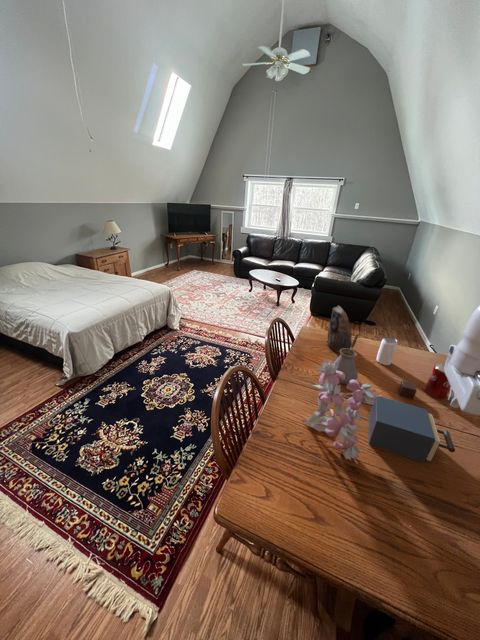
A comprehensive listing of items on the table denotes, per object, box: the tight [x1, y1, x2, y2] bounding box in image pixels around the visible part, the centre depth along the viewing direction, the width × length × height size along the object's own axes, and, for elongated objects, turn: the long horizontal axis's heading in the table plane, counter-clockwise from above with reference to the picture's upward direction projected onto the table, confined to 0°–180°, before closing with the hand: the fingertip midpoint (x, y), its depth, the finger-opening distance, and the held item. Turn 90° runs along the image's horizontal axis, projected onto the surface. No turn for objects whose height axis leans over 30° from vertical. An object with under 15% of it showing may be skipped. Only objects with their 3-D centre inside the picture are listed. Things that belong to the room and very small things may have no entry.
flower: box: [301, 357, 382, 464], centre depth 80 cm, size 20×22×25 cm
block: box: [398, 380, 418, 401], centre depth 104 cm, size 5×5×5 cm
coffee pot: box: [332, 333, 360, 385], centre depth 113 cm, size 21×12×15 cm, turn 146°
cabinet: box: [368, 394, 435, 463], centre depth 83 cm, size 15×13×10 cm
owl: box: [326, 304, 353, 353], centre depth 134 cm, size 13×13×20 cm
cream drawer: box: [425, 413, 456, 462], centre depth 82 cm, size 18×11×8 cm, turn 66°
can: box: [375, 336, 398, 366], centre depth 123 cm, size 6×6×12 cm
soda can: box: [424, 363, 451, 400], centre depth 104 cm, size 7×7×12 cm
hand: (452, 404), depth 74 cm, fingers closed
